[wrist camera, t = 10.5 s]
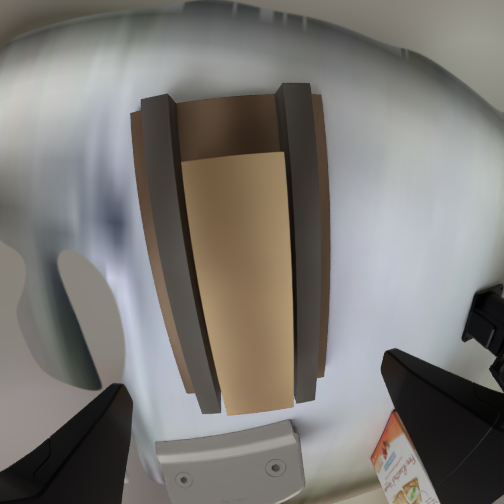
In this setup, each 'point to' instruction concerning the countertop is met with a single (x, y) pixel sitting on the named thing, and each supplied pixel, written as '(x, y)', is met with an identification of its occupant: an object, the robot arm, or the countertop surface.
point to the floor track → (177, 225)
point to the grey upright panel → (234, 467)
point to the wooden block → (244, 275)
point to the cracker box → (401, 467)
